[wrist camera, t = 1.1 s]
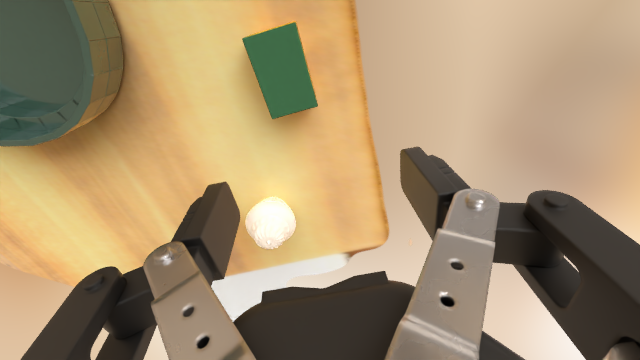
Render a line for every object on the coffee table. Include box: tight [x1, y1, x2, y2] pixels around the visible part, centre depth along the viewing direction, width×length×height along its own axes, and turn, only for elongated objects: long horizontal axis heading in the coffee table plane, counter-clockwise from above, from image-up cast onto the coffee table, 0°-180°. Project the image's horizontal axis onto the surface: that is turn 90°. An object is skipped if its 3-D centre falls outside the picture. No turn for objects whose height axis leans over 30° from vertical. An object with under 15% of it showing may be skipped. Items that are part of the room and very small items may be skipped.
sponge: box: [242, 21, 318, 119], centre depth 25 cm, size 7×4×4 cm, turn 15°
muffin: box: [245, 197, 296, 249], centre depth 33 cm, size 6×6×7 cm
